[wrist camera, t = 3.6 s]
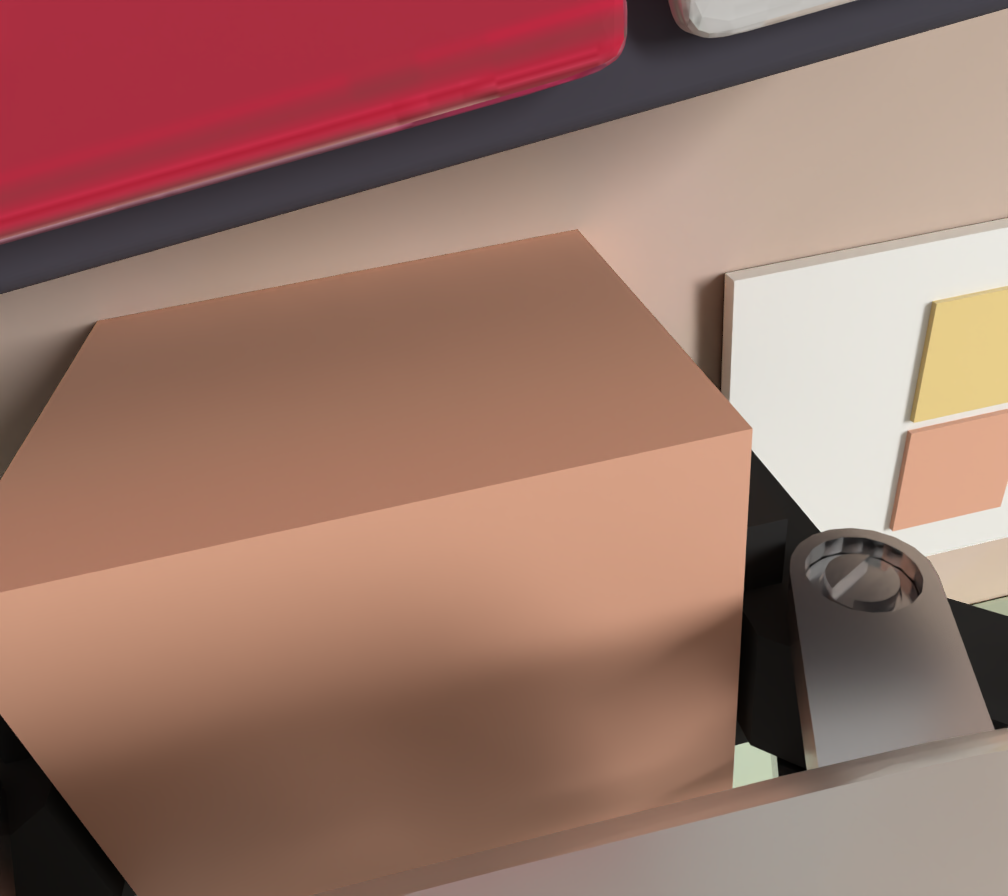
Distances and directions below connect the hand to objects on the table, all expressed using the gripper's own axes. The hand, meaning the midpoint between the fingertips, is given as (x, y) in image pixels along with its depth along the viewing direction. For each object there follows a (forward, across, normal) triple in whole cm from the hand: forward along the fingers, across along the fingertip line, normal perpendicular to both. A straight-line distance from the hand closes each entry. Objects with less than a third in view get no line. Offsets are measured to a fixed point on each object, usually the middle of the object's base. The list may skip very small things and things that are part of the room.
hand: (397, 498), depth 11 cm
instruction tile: (+1, -9, +1) cm, 9 cm away
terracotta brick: (+1, 0, 0) cm, 1 cm away
